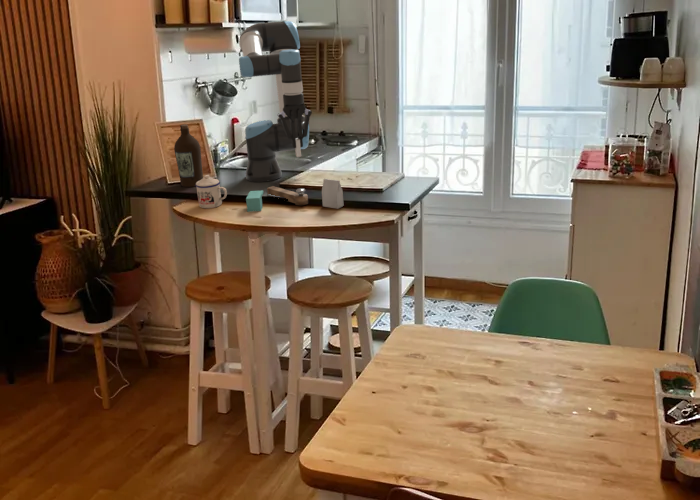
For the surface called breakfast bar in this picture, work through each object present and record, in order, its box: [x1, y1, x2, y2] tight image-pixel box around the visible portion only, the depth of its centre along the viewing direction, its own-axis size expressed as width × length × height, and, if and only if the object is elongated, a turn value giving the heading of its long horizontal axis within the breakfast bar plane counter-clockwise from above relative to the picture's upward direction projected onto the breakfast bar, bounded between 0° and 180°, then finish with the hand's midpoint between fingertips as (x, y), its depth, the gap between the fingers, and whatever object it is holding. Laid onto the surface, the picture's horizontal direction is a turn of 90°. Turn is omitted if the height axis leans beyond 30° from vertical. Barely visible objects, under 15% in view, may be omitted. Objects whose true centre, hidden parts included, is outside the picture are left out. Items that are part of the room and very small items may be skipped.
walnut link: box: [266, 185, 309, 206], centre depth 285 cm, size 21×5×3 cm, turn 43°
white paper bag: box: [321, 178, 345, 210], centre depth 274 cm, size 4×7×10 cm, turn 56°
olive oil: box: [173, 123, 204, 188], centre depth 311 cm, size 11×11×25 cm
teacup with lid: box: [195, 174, 228, 209], centre depth 283 cm, size 12×9×12 cm
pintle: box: [295, 187, 306, 196], centre depth 278 cm, size 3×3×2 cm
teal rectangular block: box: [245, 189, 264, 213], centre depth 279 cm, size 10×5×5 cm, turn 178°
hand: (298, 155), depth 284 cm, fingers closed
